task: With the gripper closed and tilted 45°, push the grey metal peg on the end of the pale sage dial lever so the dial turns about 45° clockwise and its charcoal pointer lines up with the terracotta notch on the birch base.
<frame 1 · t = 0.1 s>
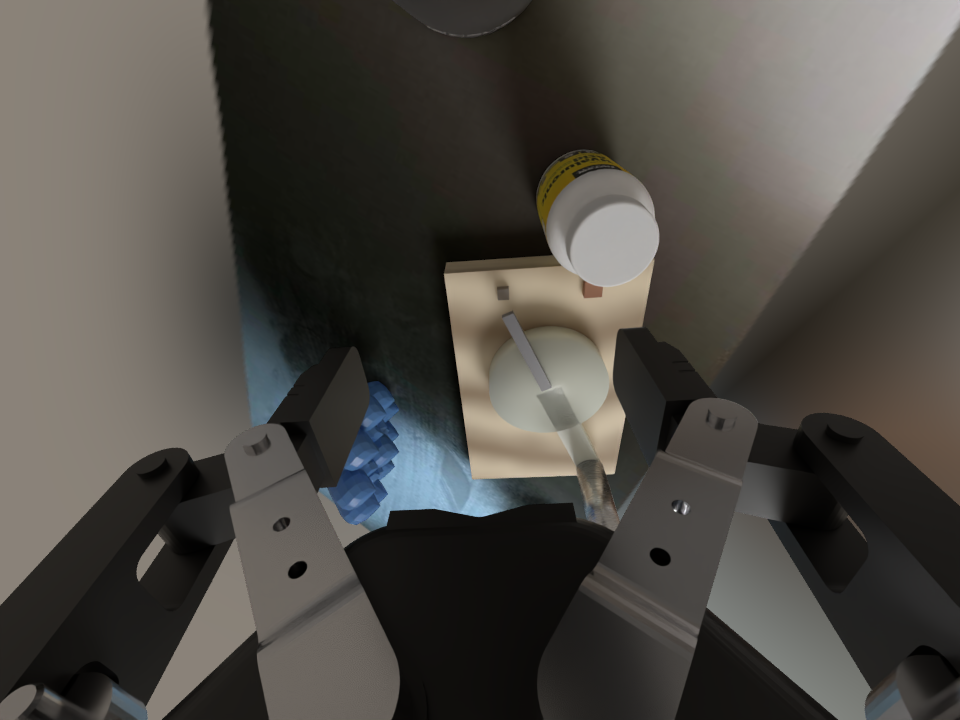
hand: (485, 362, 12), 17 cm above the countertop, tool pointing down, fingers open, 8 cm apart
grapes: (373, 396, 37), on the countertop
supplement bottle: (575, 193, 26), on the countertop
dial: (563, 435, 29), point 7 cm above the countertop, hinge at 0.0°
dial base: (542, 358, 34), on the countertop
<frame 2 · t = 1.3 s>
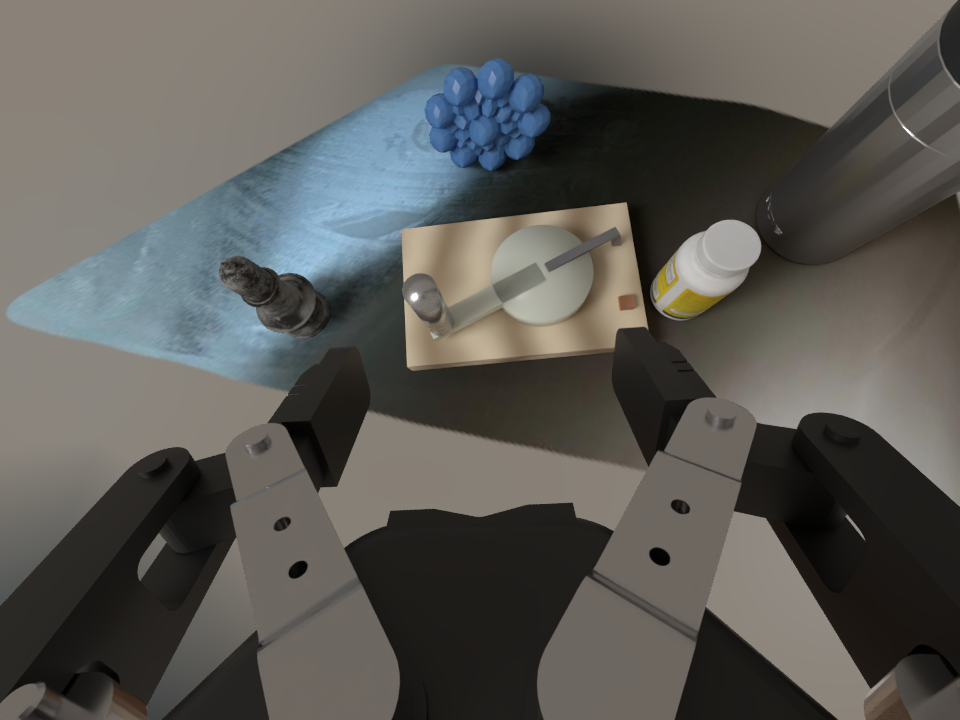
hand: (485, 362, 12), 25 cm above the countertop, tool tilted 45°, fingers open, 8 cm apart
grapes: (491, 159, 43), on the countertop
dark chess piece: (306, 314, 41), on the countertop
supplement bottle: (677, 295, 38), on the countertop
dial: (523, 266, 32), point 7 cm above the countertop, hinge at 0.0°
dial base: (538, 289, 39), on the countertop
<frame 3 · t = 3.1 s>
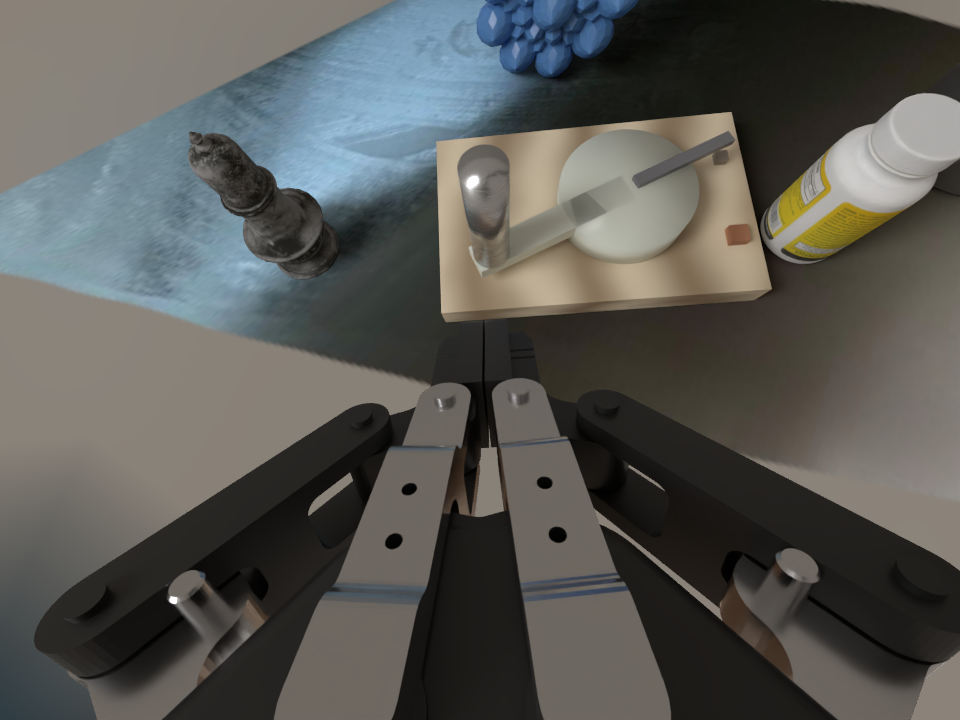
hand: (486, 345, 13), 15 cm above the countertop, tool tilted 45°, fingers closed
grapes: (548, 67, 34), on the countertop
dark chess piece: (308, 249, 32), on the countertop
supplement bottle: (794, 233, 29), on the countertop
dial: (614, 167, 23), point 7 cm above the countertop, hinge at 0.0°
dial base: (612, 222, 30), on the countertop
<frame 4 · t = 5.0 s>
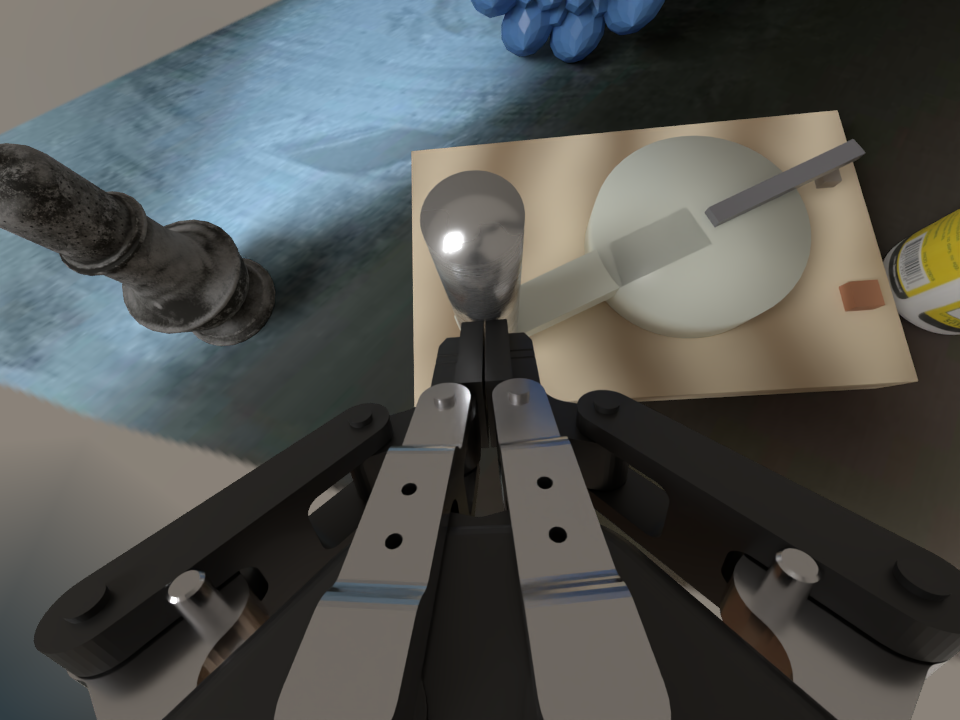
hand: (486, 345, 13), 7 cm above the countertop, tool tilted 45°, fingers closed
grapes: (568, 49, 25), on the countertop
dark chess piece: (232, 302, 23), on the countertop
supplement bottle: (929, 286, 20), on the countertop
dial: (692, 200, 14), point 7 cm above the countertop, hinge at -0.1°, touching gripper
dial base: (662, 268, 21), on the countertop
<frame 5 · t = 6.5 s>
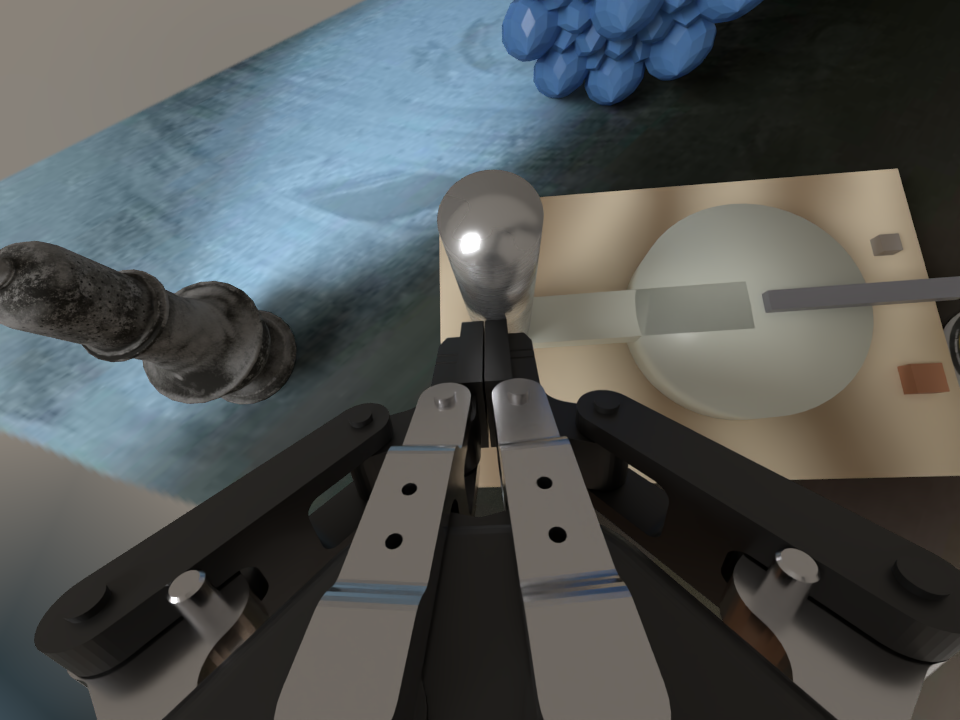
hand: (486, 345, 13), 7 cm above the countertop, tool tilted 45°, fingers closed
grapes: (603, 89, 24), on the countertop
dark chess piece: (252, 357, 22), on the countertop
dial: (744, 277, 13), point 7 cm above the countertop, hinge at -21.7°, touching gripper
dial base: (702, 332, 20), on the countertop
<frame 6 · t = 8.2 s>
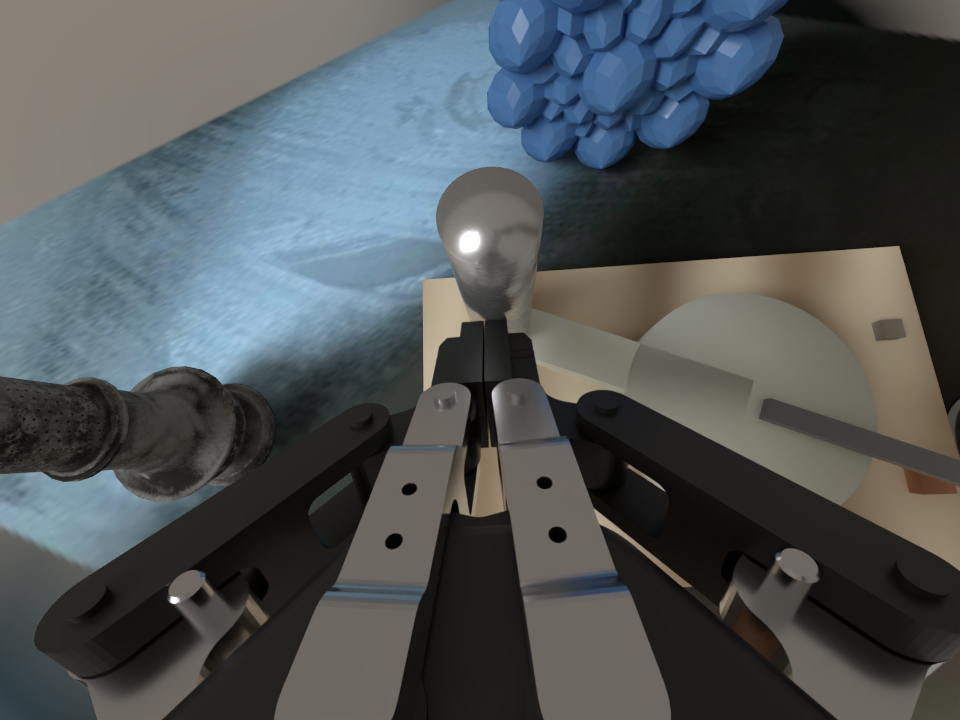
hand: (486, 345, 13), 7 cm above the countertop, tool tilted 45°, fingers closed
grapes: (593, 149, 23), on the countertop
dark chess piece: (229, 433, 21), on the countertop
dial: (741, 374, 13), point 7 cm above the countertop, hinge at -45.3°, touching gripper
dial base: (698, 413, 19), on the countertop
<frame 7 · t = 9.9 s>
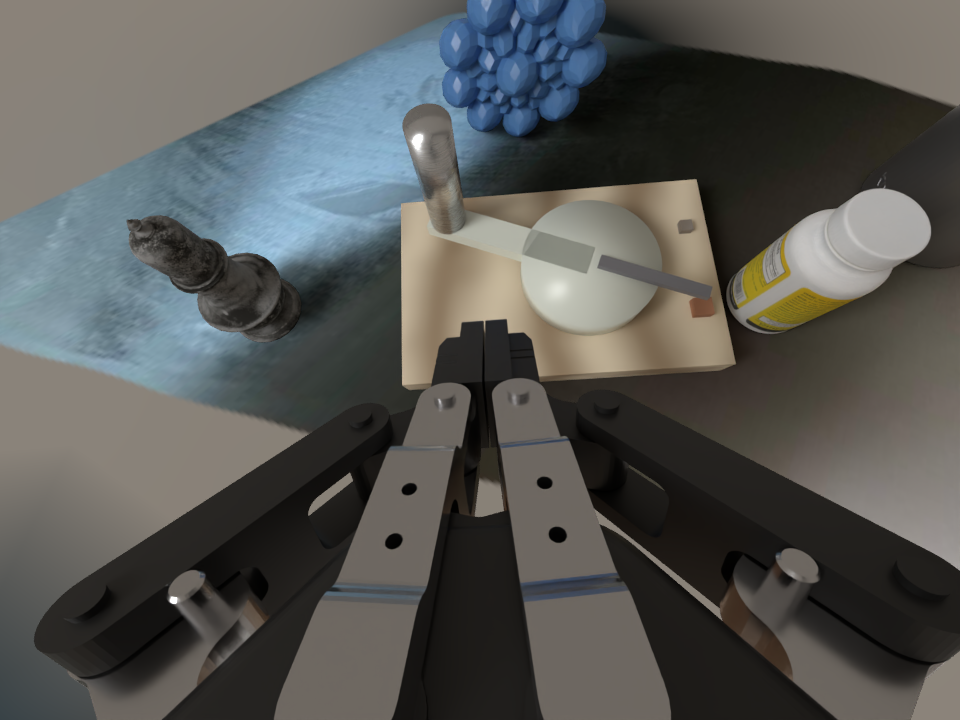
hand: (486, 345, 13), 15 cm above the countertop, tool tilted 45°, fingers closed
grapes: (517, 125, 34), on the countertop
dark chess piece: (269, 310, 31), on the countertop
supplement bottle: (760, 301, 29), on the countertop
dial: (571, 226, 23), point 7 cm above the countertop, hinge at -45.5°
dial base: (579, 287, 30), on the countertop
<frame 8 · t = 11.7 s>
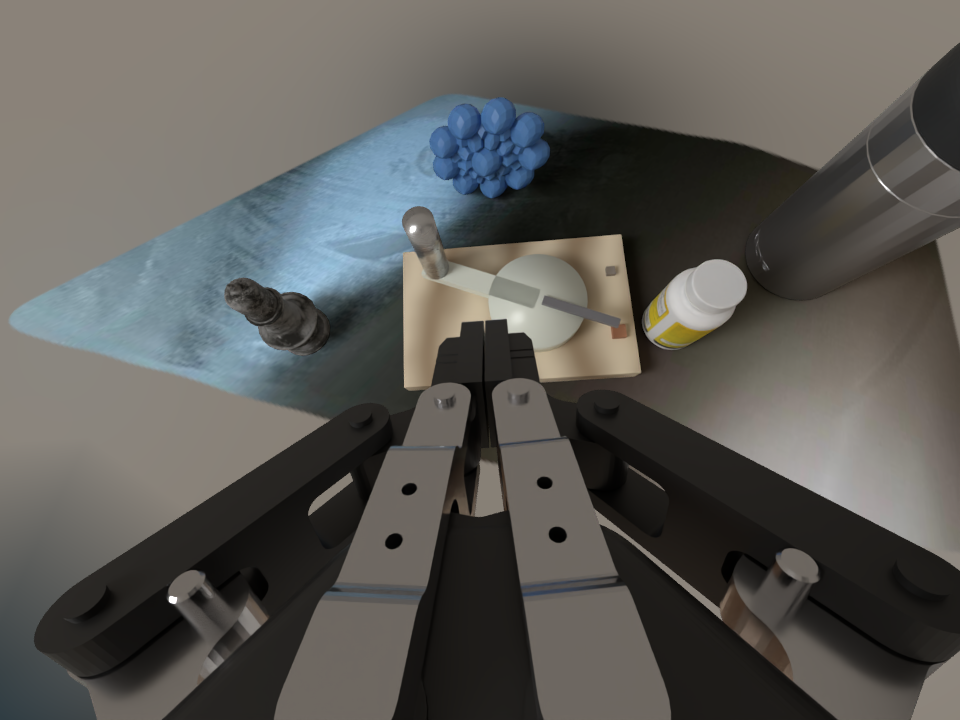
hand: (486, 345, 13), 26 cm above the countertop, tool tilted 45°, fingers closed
grapes: (492, 187, 44), on the countertop
dark chess piece: (306, 331, 42), on the countertop
supplement bottle: (668, 324, 40), on the countertop
dial: (519, 279, 34), point 7 cm above the countertop, hinge at -45.5°
dial base: (534, 314, 41), on the countertop
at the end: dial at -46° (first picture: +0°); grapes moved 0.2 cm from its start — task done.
